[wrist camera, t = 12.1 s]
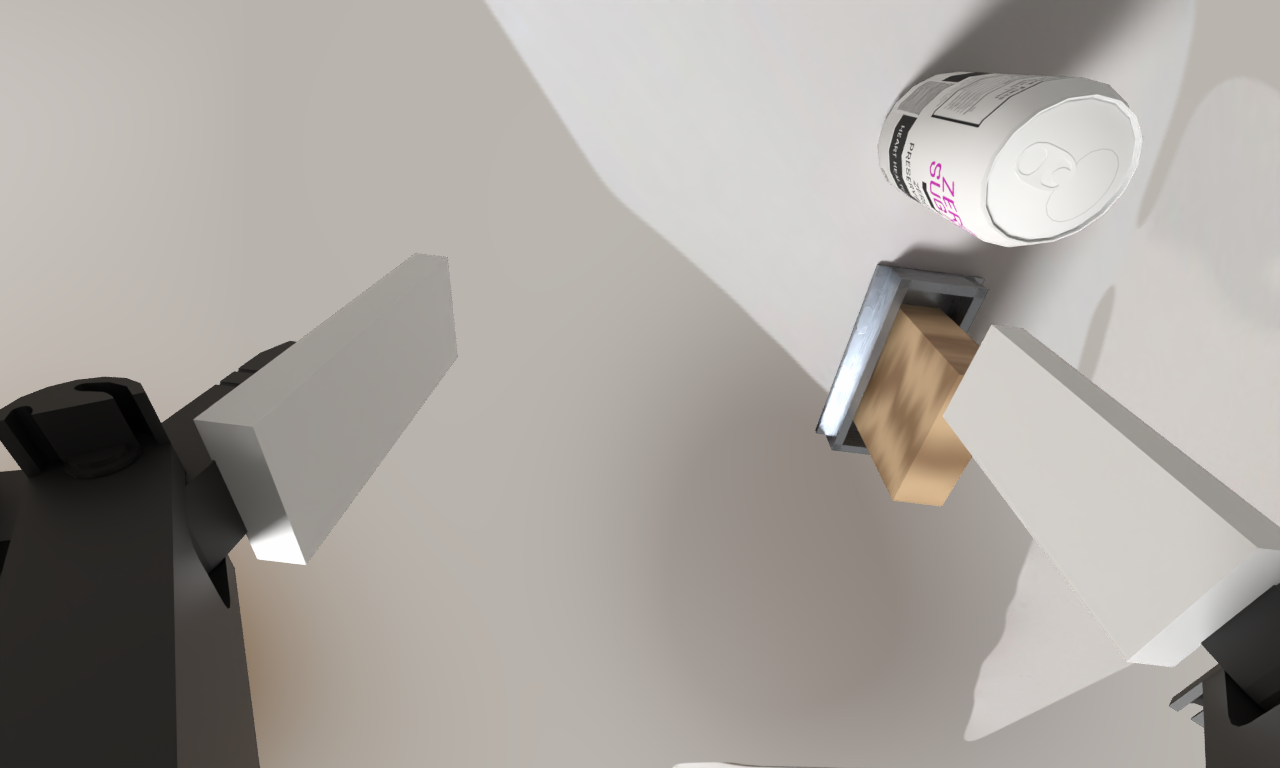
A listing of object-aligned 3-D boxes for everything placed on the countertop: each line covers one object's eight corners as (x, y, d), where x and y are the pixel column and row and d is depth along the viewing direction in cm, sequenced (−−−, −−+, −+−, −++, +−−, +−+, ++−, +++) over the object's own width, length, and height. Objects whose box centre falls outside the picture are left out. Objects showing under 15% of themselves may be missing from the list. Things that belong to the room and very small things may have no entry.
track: (877, 264, 43) (889, 277, 41) (981, 277, 43) (1000, 291, 41) (815, 430, 53) (822, 448, 50) (900, 440, 53) (911, 459, 51)
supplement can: (1018, 101, 36) (1199, 124, 24) (939, 210, 41) (1057, 278, 28) (923, 50, 35) (1063, 45, 23) (852, 168, 39) (935, 219, 27)
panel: (895, 302, 45) (959, 374, 34) (940, 308, 45) (1017, 381, 34) (849, 412, 51) (892, 500, 41) (889, 417, 51) (941, 506, 41)
